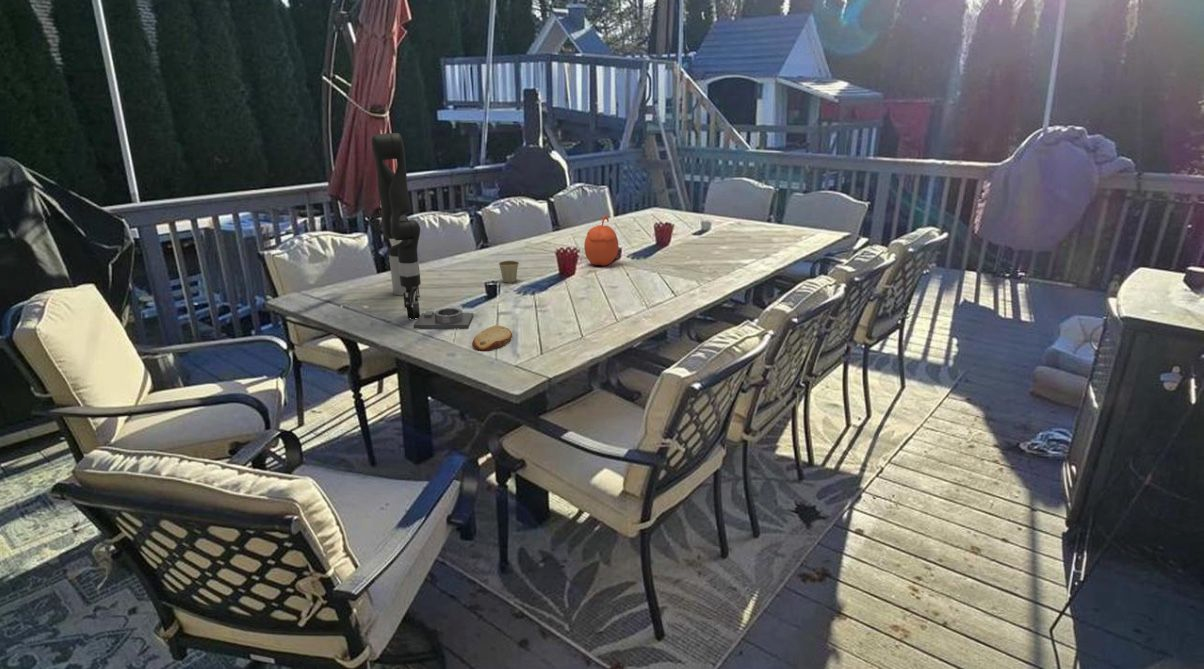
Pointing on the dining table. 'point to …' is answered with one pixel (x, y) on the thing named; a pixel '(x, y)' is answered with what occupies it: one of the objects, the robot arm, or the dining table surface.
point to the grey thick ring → (448, 316)
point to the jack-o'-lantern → (601, 244)
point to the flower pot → (509, 270)
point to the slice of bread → (492, 338)
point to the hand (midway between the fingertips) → (413, 313)
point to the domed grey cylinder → (415, 310)
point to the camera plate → (429, 322)
